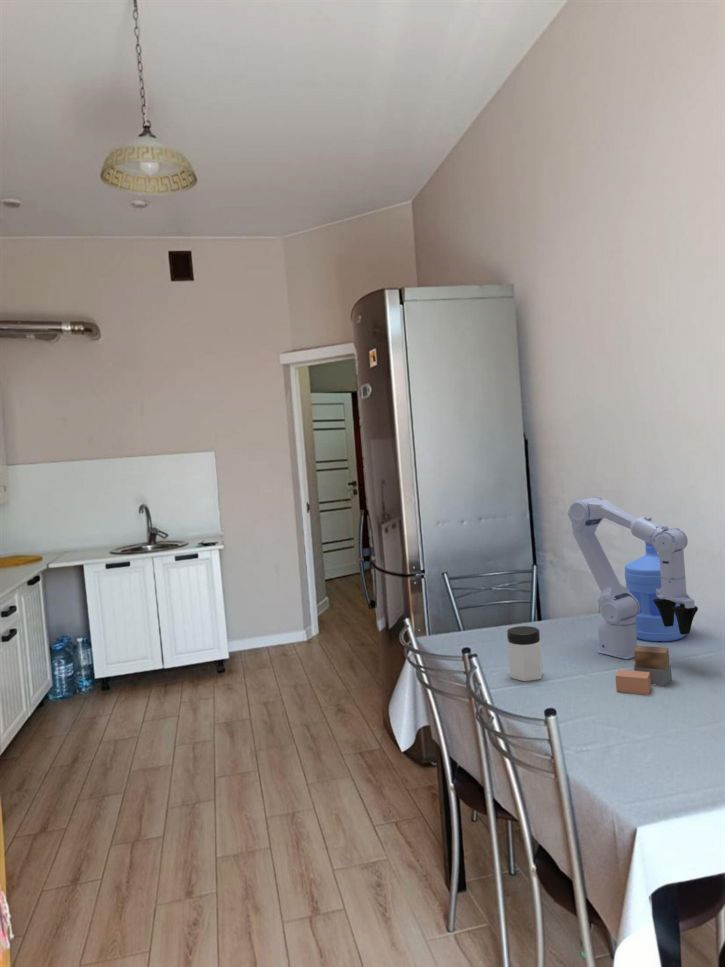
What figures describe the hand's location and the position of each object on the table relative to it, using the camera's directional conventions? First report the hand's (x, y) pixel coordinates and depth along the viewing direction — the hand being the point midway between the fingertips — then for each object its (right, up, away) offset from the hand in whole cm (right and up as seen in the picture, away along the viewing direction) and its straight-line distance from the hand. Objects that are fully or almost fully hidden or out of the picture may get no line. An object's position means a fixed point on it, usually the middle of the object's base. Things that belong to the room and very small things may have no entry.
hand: (676, 629), depth 168 cm
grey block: (-9, -11, -8) cm, 16 cm away
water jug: (+8, -8, +28) cm, 30 cm away
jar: (-37, -13, +4) cm, 40 cm away
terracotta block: (-16, -12, -12) cm, 23 cm away
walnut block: (-10, -7, -8) cm, 14 cm away
